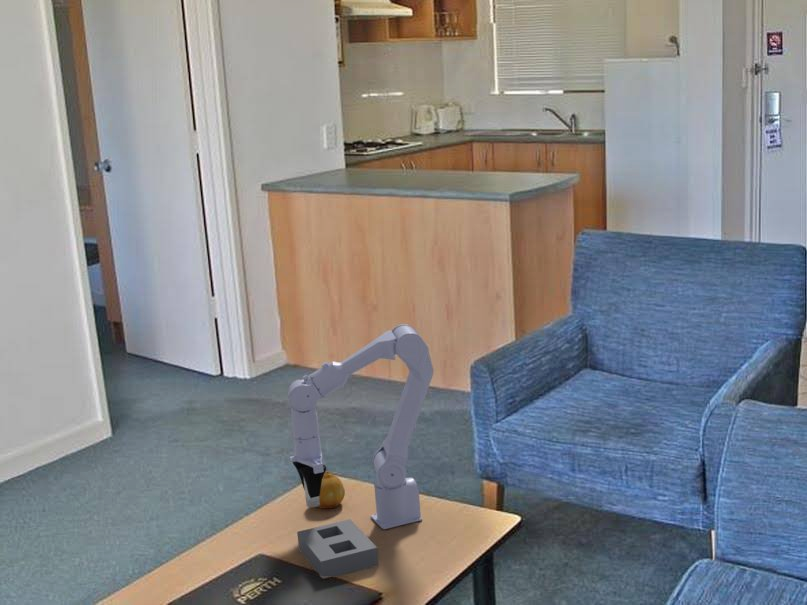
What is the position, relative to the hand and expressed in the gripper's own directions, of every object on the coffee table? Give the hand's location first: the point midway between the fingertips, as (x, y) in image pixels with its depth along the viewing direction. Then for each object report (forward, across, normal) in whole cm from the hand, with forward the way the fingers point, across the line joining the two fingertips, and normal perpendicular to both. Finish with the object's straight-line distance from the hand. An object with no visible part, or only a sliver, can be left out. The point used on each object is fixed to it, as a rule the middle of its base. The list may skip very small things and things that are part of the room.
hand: (312, 493), depth 230 cm
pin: (+2, 0, 0) cm, 2 cm away
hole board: (+9, +15, 0) cm, 17 cm away
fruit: (+9, -12, +7) cm, 17 cm away
